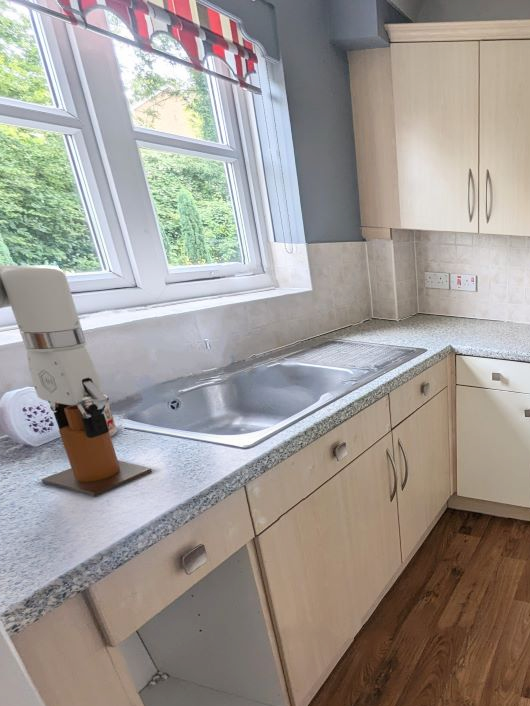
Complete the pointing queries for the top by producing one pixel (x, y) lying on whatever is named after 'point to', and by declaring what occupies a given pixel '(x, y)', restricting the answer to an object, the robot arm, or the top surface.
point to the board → (98, 486)
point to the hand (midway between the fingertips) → (84, 431)
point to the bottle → (87, 449)
